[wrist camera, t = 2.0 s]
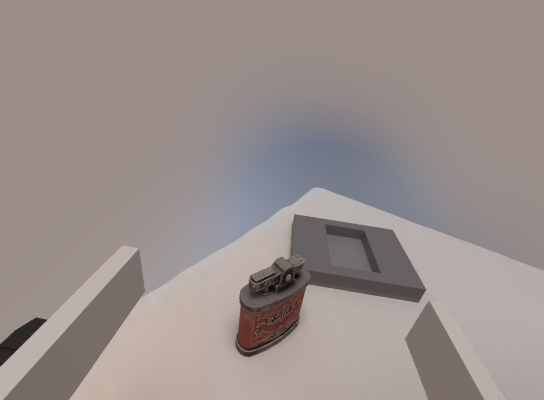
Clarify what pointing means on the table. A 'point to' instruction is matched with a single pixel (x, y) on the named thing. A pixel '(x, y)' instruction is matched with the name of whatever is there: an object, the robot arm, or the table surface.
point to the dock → (355, 258)
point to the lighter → (271, 305)
